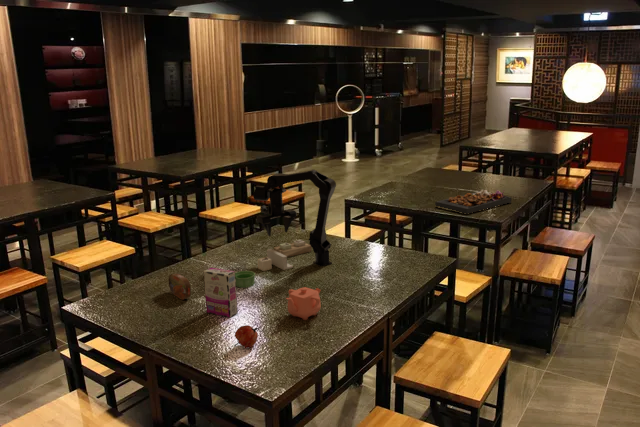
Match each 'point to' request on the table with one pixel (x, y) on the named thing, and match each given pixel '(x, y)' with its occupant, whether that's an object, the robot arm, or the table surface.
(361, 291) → the table surface
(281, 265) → the grey screen
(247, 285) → the ramekin
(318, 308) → the pink rounded piece
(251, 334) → the red apple
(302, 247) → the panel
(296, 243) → the T button
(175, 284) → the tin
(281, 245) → the button
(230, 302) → the candy bar box
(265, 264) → the letter block
